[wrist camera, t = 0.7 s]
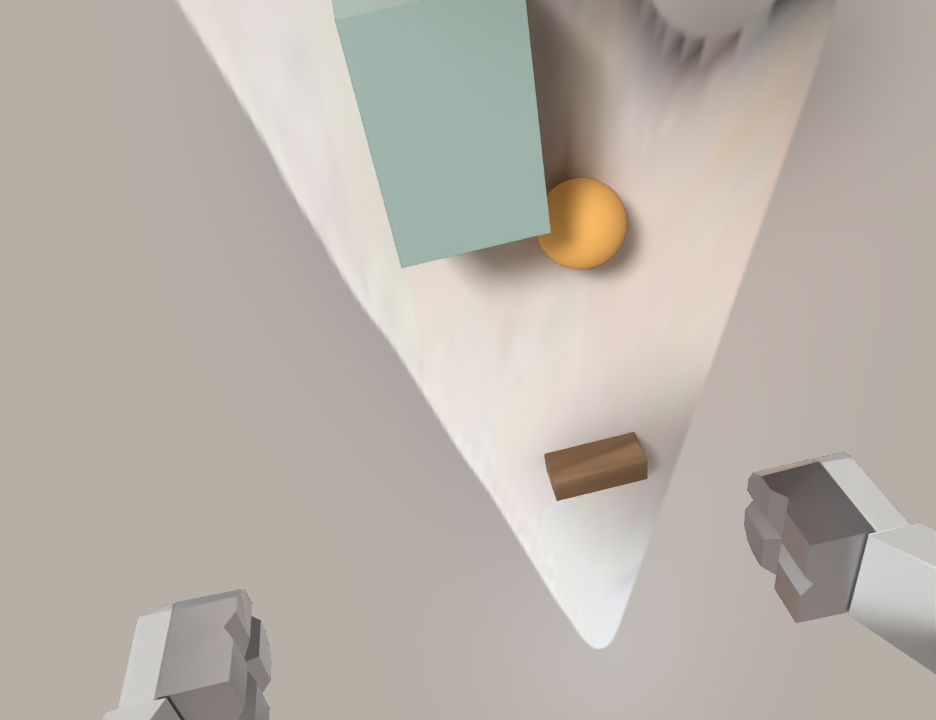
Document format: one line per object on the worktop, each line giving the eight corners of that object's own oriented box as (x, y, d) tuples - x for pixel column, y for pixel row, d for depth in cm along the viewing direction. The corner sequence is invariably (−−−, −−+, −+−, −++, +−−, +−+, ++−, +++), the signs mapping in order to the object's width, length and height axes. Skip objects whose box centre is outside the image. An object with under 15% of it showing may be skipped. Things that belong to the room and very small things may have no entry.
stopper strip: (544, 454, 58) (554, 484, 56) (633, 432, 59) (647, 461, 56) (546, 471, 60) (556, 501, 57) (633, 449, 60) (647, 478, 58)
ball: (525, 169, 43) (547, 213, 39) (612, 155, 43) (643, 199, 39) (527, 245, 46) (548, 293, 42) (608, 232, 46) (636, 279, 43)
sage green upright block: (326, -40, 34) (334, 20, 28) (478, -75, 34) (523, -23, 28) (384, 178, 42) (401, 267, 35) (509, 149, 42) (550, 232, 35)
